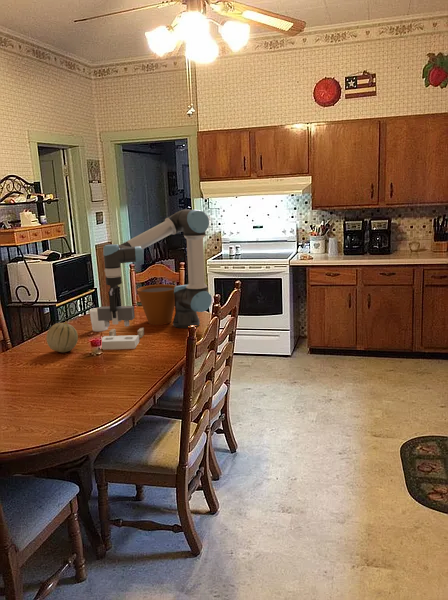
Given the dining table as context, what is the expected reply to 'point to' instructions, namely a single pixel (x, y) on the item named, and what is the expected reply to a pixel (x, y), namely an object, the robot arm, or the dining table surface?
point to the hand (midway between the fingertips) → (117, 322)
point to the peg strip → (123, 314)
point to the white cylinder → (96, 321)
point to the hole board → (120, 342)
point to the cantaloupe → (62, 337)
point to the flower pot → (157, 303)
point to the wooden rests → (140, 332)
